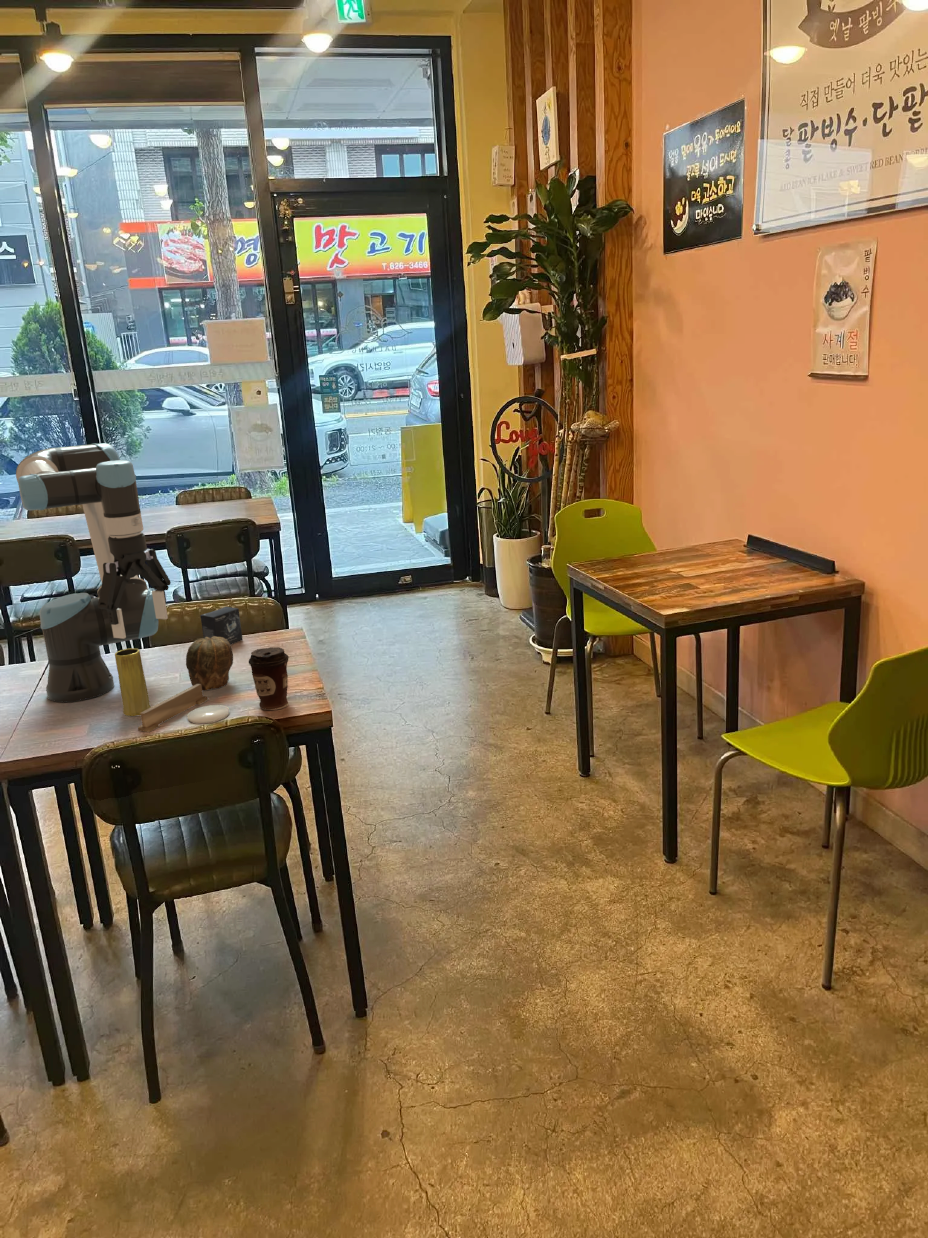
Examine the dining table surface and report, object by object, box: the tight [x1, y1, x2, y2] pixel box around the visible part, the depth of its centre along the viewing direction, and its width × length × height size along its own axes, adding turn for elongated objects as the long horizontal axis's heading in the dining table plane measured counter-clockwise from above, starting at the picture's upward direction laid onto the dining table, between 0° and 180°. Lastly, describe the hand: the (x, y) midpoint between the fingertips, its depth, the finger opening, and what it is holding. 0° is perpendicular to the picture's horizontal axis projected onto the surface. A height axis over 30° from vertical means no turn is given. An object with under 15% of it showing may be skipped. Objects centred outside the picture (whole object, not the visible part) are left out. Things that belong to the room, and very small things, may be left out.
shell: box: [185, 636, 234, 692], centre depth 215 cm, size 11×11×12 cm
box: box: [199, 606, 243, 646], centre depth 246 cm, size 9×6×10 cm, turn 147°
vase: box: [114, 647, 152, 717], centre depth 201 cm, size 6×6×14 cm
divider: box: [137, 684, 209, 733], centre depth 199 cm, size 3×19×4 cm, turn 155°
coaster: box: [186, 704, 230, 725], centre depth 198 cm, size 9×9×1 cm
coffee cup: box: [248, 646, 290, 711], centre depth 199 cm, size 9×8×13 cm
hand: (141, 627), depth 199 cm, fingers open, 13 cm apart
